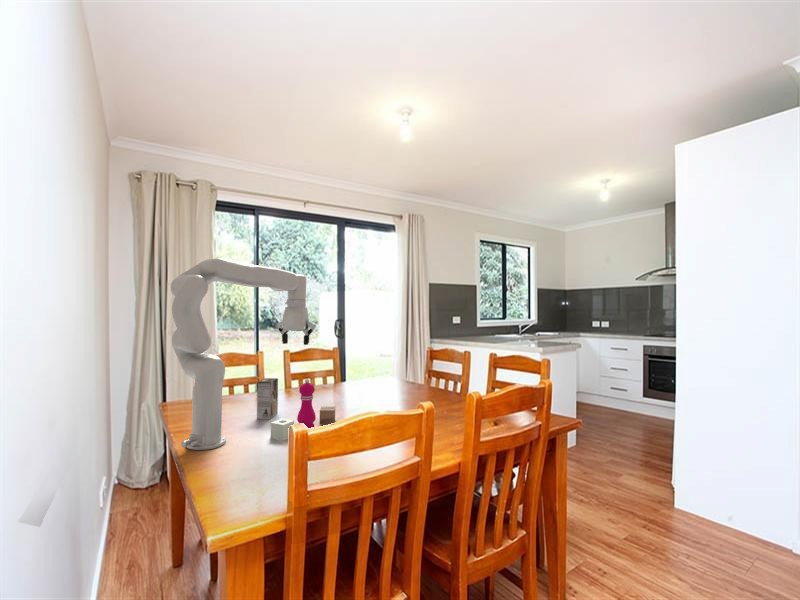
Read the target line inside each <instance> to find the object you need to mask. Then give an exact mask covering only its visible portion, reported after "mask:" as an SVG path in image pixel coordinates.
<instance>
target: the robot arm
mask: <svg viewBox="0 0 800 600" xmlns="http://www.w3.org/2000/svg"><path fill="white" fill-rule="evenodd" d="M213 282H219V283H220V282H221V283H226V284H231V285H236V286H237V285H238V286H243V287H248V288H249V287H251V288H270V289H271V290H273V291H275V292H287V298H286V299H287V300H285V301H284V304H285V305H287V306H285V307H284V312H283V317H282V320H281V321H279V322H278V323H277V324H276V326H277V328H278V331H279V332H280V334H281V336H282V337H281V342H282V345H287V344H288V341H289V334H288V333H289V331H296V332H303V334H304V335H303V345H304V346H306V345H309V343H310V335H311V334H312V333H313V332H314V330H315V328H316V324H314V323H313V322H311V321H310V319H309V311H308V307H307V305H306V304H307V303H306V302H307V277H306V276H305V275H303V274H296V273H294V272H292V271H287V270H282V269H279V268H272V267H267V266H260V265H256V264H251V263H250V264H249V263H245V262H240V261H236V260H232V259H227V258H221V257H216V258H215V257H213V258H208V259H205V260H202V261H201V262H199V263H198V264H196V265H193V266H192V267H190V268H189V269H188V270H186V271H184V272H182V273H181V274H179V275H177V276H175V278H174V279H173V280H171V283H170V292H171V294H172V295H173V296H174V298H173V301H172V305H171V316H172V319H173V321H174V324H175V328H176V329H175V330H174V332H173V334H172V336H171V345H172V347H173V351H174V353H175V355H176V358H177V360H178V362H179V365H180V367H181V369H182V371H183V372H184V374H185V375H186V376H187V377H189V378H192V379H195V381H194V385H193V389H192V395H191V396H192V397H191V401H192V405H191V433H190V434H189V437H188V438H187V439H185V440H183V441H181V443H180V445H181V447H182V448H185V447H186V448H187V449H189V450H192V451H193V450H194V451H204V450H211V449H215V448H219V447H221V446H223V445H225V444H226V442H227V438H226V436H223V435H222V424H223V423H222V422H223V420H222V419H223V418H222V417H223V416H222V415H223V386H224V385H223V384H224V380H225V373H226V365H225V362H224V361H223V360H222V358H221V357H219V356H217V355H216V354H215V355H214V354H211V353H207V352H208V350H209V349H210V347H211V345H212V338H211V335H210V333H209V330H208V328H207V325H206V323H205V320H204V318H203V315H202V314H203V313H202V310H201V305H202V302H203V299H204V298H205V296H206V295H207V293H208V290H209V285H210V284H212V283H213ZM309 327H310V328H309Z"/></svg>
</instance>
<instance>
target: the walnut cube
mask: <svg viewBox="0 0 800 600" xmlns="http://www.w3.org/2000/svg"><path fill="white" fill-rule="evenodd" d="M334 422H336V406H320V409H319V422H318V423H319V424H322V425H323V426H325V425H326V424H331V423H334ZM319 424H318V425H319ZM334 424H335V423H334ZM331 425H332V424H331Z"/></svg>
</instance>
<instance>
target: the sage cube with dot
mask: <svg viewBox="0 0 800 600" xmlns="http://www.w3.org/2000/svg"><path fill="white" fill-rule="evenodd" d="M293 424H294V425H295V420H291V419H285V418H280V419H277V420H275V421H272V422H270V439H274V440H278V441H286V440H287V438H288V428H289V426H290V425H293ZM288 439H289V438H288Z"/></svg>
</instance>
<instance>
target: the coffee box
mask: <svg viewBox="0 0 800 600" xmlns="http://www.w3.org/2000/svg"><path fill="white" fill-rule="evenodd" d="M256 387H257V388H256V419H257V420H271V419H273V418H274V417H275V416H276V415H277V414H278V411H279V410H278V409H279V408H278V406H279V405H278V404H279V398H278V397H279V394H278V393H279V378H271V377H268V378H267V377H266V378H265V377H264V378H262V379H261V380H259V381H257V383H256Z"/></svg>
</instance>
